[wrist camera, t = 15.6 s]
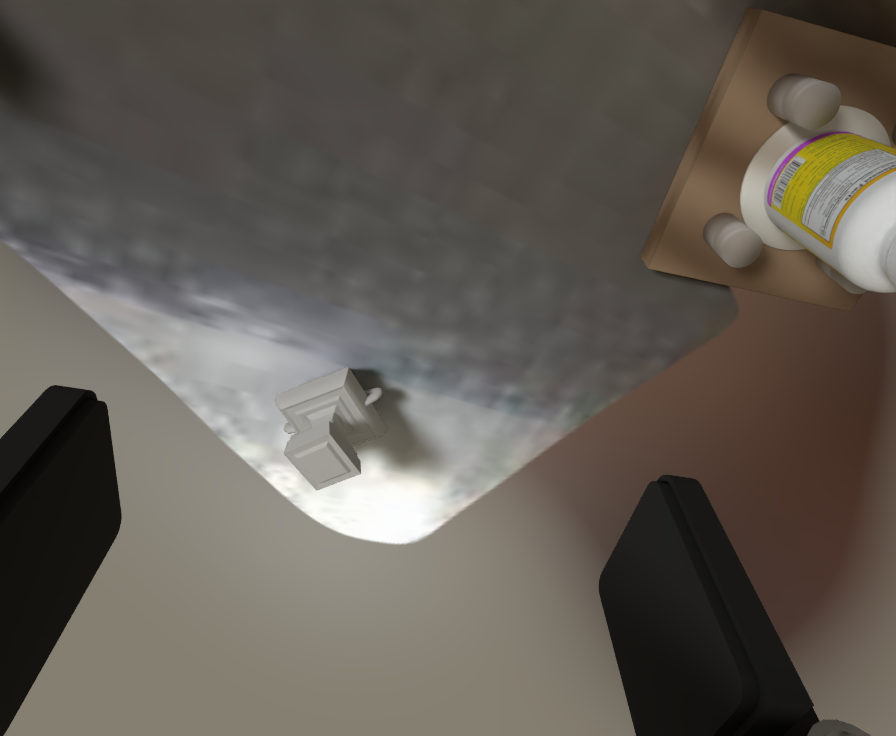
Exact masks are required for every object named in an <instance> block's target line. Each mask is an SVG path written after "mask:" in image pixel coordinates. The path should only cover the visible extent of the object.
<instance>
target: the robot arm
mask: <svg viewBox="0 0 896 736" xmlns="http://www.w3.org/2000/svg"><path fill="white" fill-rule="evenodd" d="M120 524H121V507H120V500H119V492H118V484H117V477H116V469H115V462H114V454H113V446H112V439H111V431H110V424H109V416H108V409H107V405H106V403H105V402H103V401H97V397H96V394H95V393H94V392H93V391H90V390H84V389H78V388H71V387H63V386H57V385H54V386H50V387H49V388H48V389H47V390H45V391H44V392H43V393H42V395H41V396H40V397H39V398H38V399H37V400H36V401H35V402H34V403H33V404H32V406H30V407H29V409H28V410H27V411H26V412H25V413H24V414H23V415H22V416H21V417H20V418H19V419H18V420H17V422H16V423H15V424H14V425H13V426H12V427H11V428H10V429H9V430H8V431H7V432H6V433H5V434H4V435H3V436H2V438H1V439H0V736H3V735H4V734H5V732H6V731H7V729H8V728H9V726H10V724H11V722H12V720H13V719H14V716H15V715H16V713H17V711H18V710H19V708H20V706H21V704H22V703H23V701H24V699H25V697H26V696H27V694H28V692H29V690H30V689H31V687H32V685H33V683H34V682H35V680H36V678H37V676H38V674H39V673H40V671H41V669H42V667H43V666H44V664H45V662H46V660H47V659H48V657H49V655H50V653H51V651H52V650H53V648H54V646H55V644H56V643H57V641H58V639H59V637H60V636H61V634H62V632H63V630H64V628H65V627H66V625H67V623H68V621H69V620H70V618H71V616H72V614H73V613H74V611H75V609H76V607H77V605H78V604H79V602H80V600H81V598H82V597H83V594H84V593H85V591H86V589H87V588H88V586H89V584H90V582H91V581H92V579H93V577H94V575H95V574H96V571H97V570H98V568H99V567H100V565H101V563H102V561H103V559H104V558H105V556H106V554H107V552H108V551H109V549H110V547H111V545H112V543H113V542H114V540H115V538H116V536H117V534H118V531H119V529H120ZM599 594H600V598H601V602H602V606H603V610H604V613H605V617H606V621H607V625H608V629H609V632H610V637H611V640H612V644H613V648H614V652H615V656H616V660H617V664H618V667H619V671H620V675H621V679H622V683H623V686H624V690H625V694H626V698H627V702H628V706H629V710H630V713H631V717H632V721H633V725H634V729H635V733H636V736H870V735H869V734H868V733H866V732H864V731H862V730H861V729H859V728H857V727H856V726H854V725H852V724H849V723H845V722H842V721H839V720H822V721H819V719H818V717H817V715H816V713H815V711H814V709H813V706H814V704H813V703H812V701H811V699H810V697H809V695H808V693H807V691H806V689H805V687H804V685H803V683H802V681H801V679H800V677H799V675H798V673H797V671H796V669H795V668H794V666H793V663H792V662H791V660H790V658H789V656H788V654H787V652H786V650H785V648H784V646H783V644H782V642H781V640H780V638H779V637H778V634H777V632H776V630H775V628H774V626H773V625H772V623H771V621H770V619H769V617H768V615H767V613H766V611H765V609H764V607H763V605H762V603H761V601H760V599H759V597H758V595H757V593H756V591H755V590H754V587H753V585H752V584H751V582H750V580H749V578H748V576H747V574H746V572H745V570H744V568H743V566H742V564H741V562H740V560H739V558H738V556H737V554H736V552H735V550H734V548H733V546H732V544H731V543H730V541H729V539H728V537H727V535H726V533H725V531H724V529H723V527H722V525H721V523H720V521H719V519H718V517H717V515H716V513H715V511H714V509H713V508H712V505H711V503H710V502H709V500H708V498H707V496H706V494H705V492H704V490H703V488H702V486H701V484H700V483H699V482H698V481H697V480H695V479H692V478H685V477H679V476H672V475H662V476H661V477H660V478H659V479H658V480H657V481H652V482H650V483H649V485H648V486H647V488H646V490H645V492H644V494H643V495H642V497H641V499H640V501H639V503H638V505H637V507H636V509H635V511H634V513H633V514H632V516H631V518H630V520H629V522H628V524H627V526H626V528H625V529H624V531H623V533H622V535H621V537H620V539H619V541H618V543H617V545H616V547H615V548H614V550H613V552H612V554H611V556H610V558H609V560H608V562H607V564H606V565H605V568H604V569H603V571H602V573H601V576H600V580H599Z"/></svg>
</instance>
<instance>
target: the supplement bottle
mask: <svg viewBox="0 0 896 736" xmlns="http://www.w3.org/2000/svg"><path fill="white" fill-rule="evenodd" d="M764 206H765V210H766V213H767V215H768V217H769V219H770V220H771V221H772V223H773V224H774V225H775V226H776V227H778V228H779V229H780V230H781V231H782V232H784V233H785V234H787V235H788V236H789V237H791V238H792V239H793V240H795V241H796V242H798V243H799V244H800V245H802V246H803V247H804V248H806V249H807V250H808V251H810V252H811V253H813V254H814V255H815V256H816V257H818V258H819V259H821V260H822V261H823V262H825V263H826V264H827V265H829V266H830V267H832V268H833V269H834V270H836V271H837V272H838V273H839V274H841V275H842V276H843V277H845V278H846V279H847V280H849V281H850V282H852V283H853V284H855V285H856V286H859V287H861V288H863V289H866V290H869V291H874V292H881V293H892V292H896V149H895V148H892V147H889V146H887V145H884V144H882V143H879V142H876V141H874V140H871V139H868V138H866V137H863V136H860V135H858V134H854V133H851V132H848V131H843V130H828V131H822V132H818V133H815V134H812V135H809V136H807V137H805V138H804V139H802V140H800V141H799V142H797V143H796V144H794V145H793V146H792V147H790V148H789V149H788V150H787V151H786V152H785V153H784V154H783V155H782V156H781V157H780V158H779V160H778V161H777V162H776V163H775V165H774V166H773V168H772V170H771V172H770V174H769V176H768V178H767V181H766V184H765V189H764Z"/></svg>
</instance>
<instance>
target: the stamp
mask: <svg viewBox="0 0 896 736" xmlns="http://www.w3.org/2000/svg"><path fill="white" fill-rule="evenodd" d="M381 396H382V389H381V388H372V389H368V390H363V389H362V387H361V386H360V384H359V382H358V381H357V379H356V378H355V376H354V375H353V373H352V371H351V370H350V368H349V367H347V368H344V369H342V370H339V371H337V372H334V373H331V374H329V375H326V376H324V377H321V378H318V379H316V380H313V381H311V382H308V383H306V384H303V385H300V386H298V387H295V388H293V389H290V390H288V391H285V392H282V393H280V394H277V395H275V399H274V401H275V403H276V406H277V407H278V408H279V410H280V411H281V412H282V414H283V415H284V416H285V418H286V419H287V420H288V423H286V425H285V427H284V431H285V432H287V433H288V434H291V433H297V434H295V435H292V436H291V439H290V440H289V441H288V442H287V445H286V448H285V451H284V455H285V456H286V457H287V458H288V459H289V460H290V462H291V463H292V464H293V465H294V466H295V467H296V468H297V469H298V470H299V472H300V473H301V474H302V475H303V476H304V477H305V478H306V479H307V480H308V482H309V483H310V484H311V485H312V486H313V487H314V488H315V489H316V490H320V489H322V488H325V487H328V486H330V485H333V484H335V483H338V482H341V481H343V480H346V479H349V478H351V477H354V476H356V475H359V474H361V465H360V460H359V458H358V457H357V453H356V452H355V450H354V449H353V447H352V446H355V445H357V444H360V443H363V442H366V441H369V440H371V439H374V438H377V437H380V436H382V435H383V434H385V433H386V430H387V426H386V425H385V423H384V422H383V420H382V419H381V417H380V415H379V414H378V412H377V411H376V409H375V408H374V406H373V404H372V403H373V402H375V401H376V400H378V399H379V398H380V397H381Z"/></svg>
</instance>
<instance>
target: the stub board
mask: <svg viewBox="0 0 896 736" xmlns="http://www.w3.org/2000/svg"><path fill="white" fill-rule="evenodd" d="M828 130H843V131H848V132H851V133H854V134H858V135H860V136H863V137H866V138H868V139H871V140H874V141H876V142H879V143H882V144H884V145H887V146H889V147H892V148H895V149H896V47H892V46H889V45H885V44H882V43H878V42H875V41H871V40H868V39H864V38H861V37H857V36H854V35H850V34H847V33H843V32H840V31H836V30H833V29H829V28H826V27H822V26H819V25H815V24H812V23H808V22H805V21H801V20H798V19H794V18H791V17H787V16H784V15H780V14H777V13H773V12H770V11H766V10H762V9H754V8H747V10H746V12H745V15H744V17H743V19H742V22H741V24H740V26H739V29H738V31H737V33H736V36H735V38H734V40H733V42H732V45H731V47H730V49H729V52H728V54H727V56H726V59H725V61H724V63H723V66H722V68H721V70H720V73H719V75H718V77H717V80H716V82H715V84H714V87H713V89H712V91H711V94H710V96H709V98H708V101H707V103H706V105H705V107H704V110H703V112H702V114H701V117H700V119H699V121H698V124H697V126H696V128H695V131H694V133H693V135H692V138H691V140H690V142H689V145H688V147H687V149H686V152H685V154H684V156H683V159H682V161H681V163H680V166H679V168H678V170H677V172H676V175H675V177H674V179H673V182H672V184H671V186H670V189H669V191H668V193H667V196H666V198H665V200H664V203H663V205H662V207H661V210H660V212H659V214H658V217H657V219H656V221H655V224H654V226H653V228H652V231H651V233H650V235H649V237H648V240H647V242H646V244H645V247H644V249H643V251H642V254H641V256H640V258H641V259H642V261H643V262H644V263H645V265H646V266H647V268H648V269H653V270H657V271H662V272H667V273H671V274H676V275H681V276H685V277H690V278H695V279H699V280H704V281H708V282H713V283H718V284H722V285H727V286H732V287H736V288H741V289H746V290H750V291H755V292H760V293H764V294H769V295H774V296H779V297H783V298H787V299H793V300H797V301H801V302H806V303H811V304H815V305H820V306H825V307H829V308H834V309H839V310H844V311H848V312H851V310H852V309H853V307H854V306H855V304H856V303H857V301H858V300H859V298H860V297H861V295H862V294H863V293H865V292H867V291H869V290H866V289H863V288H861V287H859V286H856V285H855V284H853V283H852V282H850V281H849V280H847V279H846V278H845V277H843V276H842V275H841V274H839V273H838V272H837V271H836V270H834V269H833V268H832V267H830V266H829V265H827V264H826V263H825V262H823V261H822V260H821V259H819V258H818V257H816V256H815V255H814V254H813V253H811V252H810V251H808V250H807V249H806V248H804V247H803V246H802V245H800V244H799V243H798V242H796V241H795V240H793V239H792V238H791V237H789V236H788V235H787V234H785V233H784V232H782V231H781V230H780V229H779V228H778V227H776V226H775V225H774V224H773V223H772V221H771V220H770V219H769V217H768V215H767V213H766V210H765V206H764V189H765V184H766V181H767V178H768V176H769V174H770V172H771V170H772V168H773V166H774V165H775V163H776V162H777V161H778V160H779V158H780V157H781V156H782V155H783V154H784V153H785V152H786V151H787V150H788V149H789V148H790V147H792V146H793V145H794V144H796V143H797V142H799V141H800V140H802V139H804V138H805V137H807V136H809V135H812V134H815V133H818V132H822V131H828Z"/></svg>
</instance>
